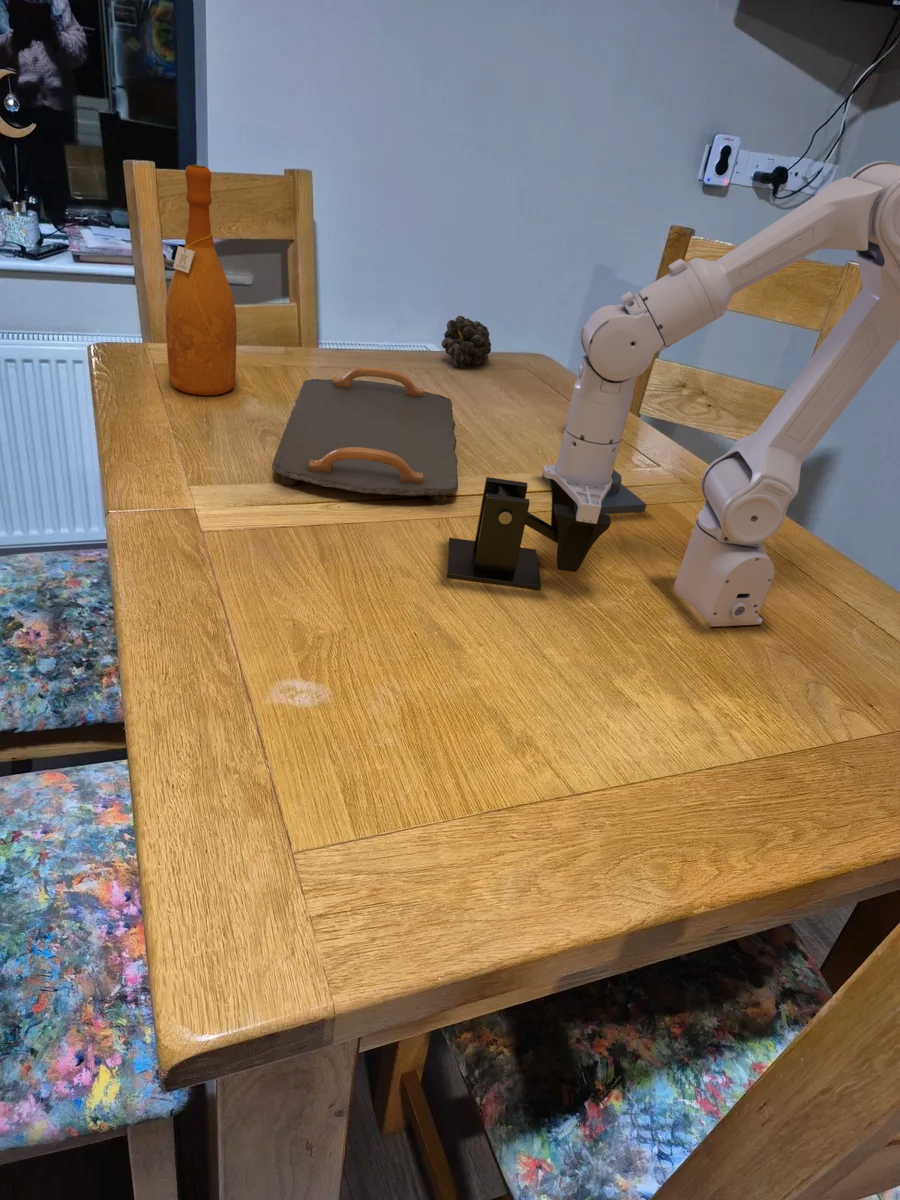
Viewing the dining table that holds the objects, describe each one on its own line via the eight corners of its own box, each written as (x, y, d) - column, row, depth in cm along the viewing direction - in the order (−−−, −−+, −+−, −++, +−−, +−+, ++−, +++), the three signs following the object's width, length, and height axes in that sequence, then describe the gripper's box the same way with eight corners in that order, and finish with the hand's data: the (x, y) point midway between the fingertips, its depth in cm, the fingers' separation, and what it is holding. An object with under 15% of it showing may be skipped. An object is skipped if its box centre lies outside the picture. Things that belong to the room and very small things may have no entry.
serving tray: (304, 390, 130) (306, 350, 127) (450, 408, 132) (456, 370, 129) (264, 499, 97) (265, 450, 94) (458, 522, 100) (466, 474, 96)
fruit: (518, 342, 157) (484, 332, 144) (495, 379, 161) (459, 374, 147) (485, 317, 159) (448, 305, 146) (462, 354, 163) (424, 346, 150)
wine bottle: (167, 374, 127) (157, 155, 111) (233, 376, 131) (233, 164, 114) (169, 397, 120) (159, 166, 104) (239, 399, 123) (240, 175, 107)
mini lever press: (534, 558, 95) (552, 480, 89) (538, 595, 88) (558, 513, 83) (447, 546, 94) (460, 467, 89) (445, 583, 87) (459, 499, 82)
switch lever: (562, 541, 92) (575, 525, 91) (566, 564, 88) (580, 547, 86) (486, 497, 89) (499, 479, 88) (487, 518, 85) (500, 500, 84)
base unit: (643, 515, 109) (650, 491, 107) (584, 520, 105) (591, 495, 103) (596, 476, 118) (602, 453, 116) (541, 478, 114) (546, 455, 112)
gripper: (548, 402, 88) (523, 515, 95) (559, 455, 76) (530, 581, 83) (613, 412, 89) (583, 524, 96) (634, 466, 76) (599, 590, 84)
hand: (563, 551), depth 90 cm, fingers open, 7 cm apart
